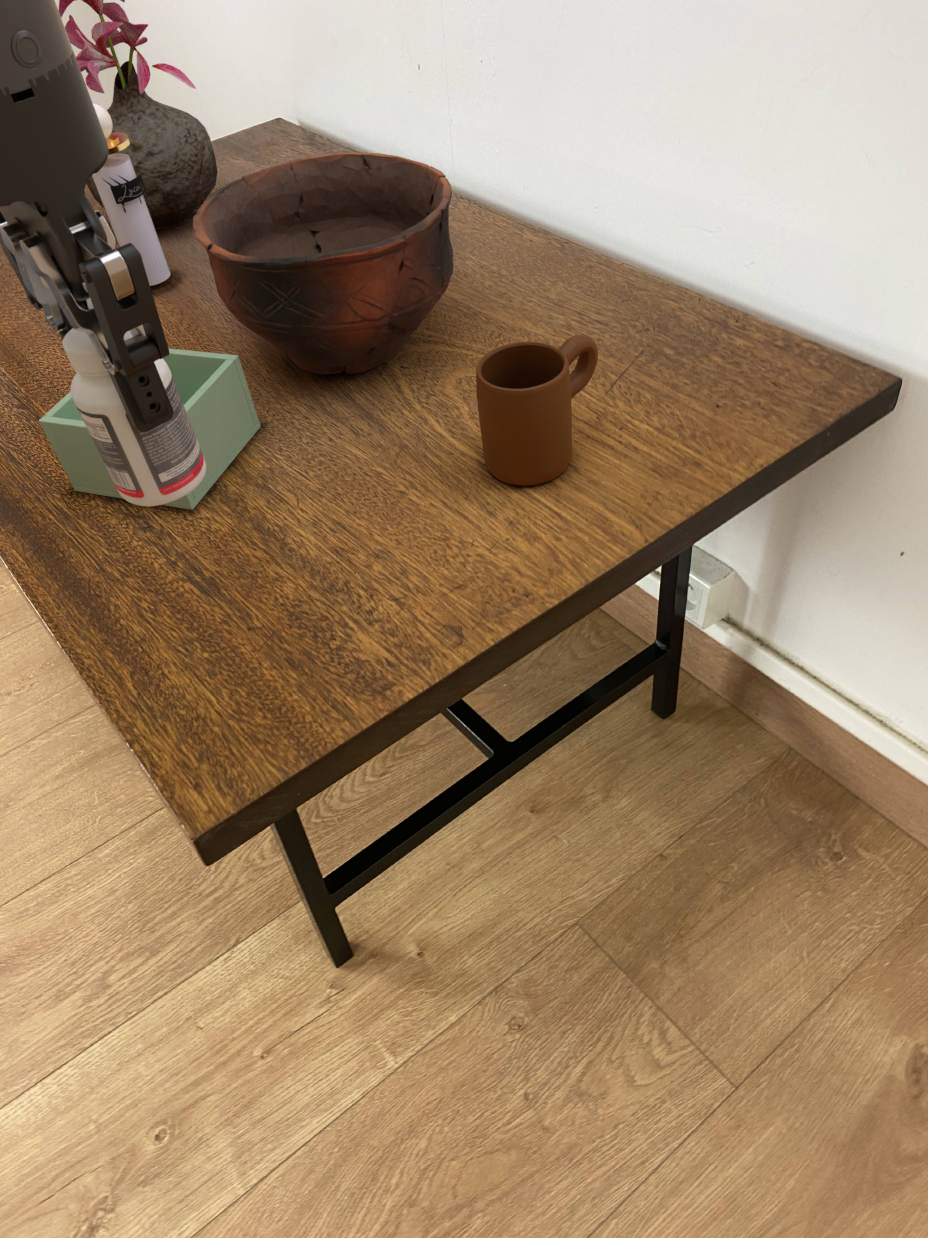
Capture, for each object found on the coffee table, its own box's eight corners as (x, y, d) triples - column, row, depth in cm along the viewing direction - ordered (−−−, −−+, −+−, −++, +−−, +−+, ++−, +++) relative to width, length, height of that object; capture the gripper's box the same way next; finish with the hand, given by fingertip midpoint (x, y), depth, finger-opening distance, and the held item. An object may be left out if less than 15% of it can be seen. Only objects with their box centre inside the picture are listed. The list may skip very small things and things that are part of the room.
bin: (192, 510, 78) (162, 437, 73) (74, 490, 82) (37, 420, 76) (261, 426, 86) (238, 354, 81) (150, 412, 90) (121, 343, 84)
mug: (564, 403, 83) (562, 308, 76) (626, 436, 79) (629, 338, 72) (466, 463, 79) (454, 368, 72) (526, 501, 74) (519, 403, 67)
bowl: (515, 310, 96) (505, 161, 85) (376, 436, 83) (343, 278, 72) (336, 270, 107) (306, 134, 96) (188, 375, 94) (134, 231, 83)
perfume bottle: (120, 288, 110) (49, 109, 95) (157, 268, 113) (93, 91, 98) (150, 298, 107) (81, 115, 93) (187, 277, 110) (125, 96, 95)
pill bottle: (208, 446, 56) (152, 298, 49) (209, 497, 53) (149, 346, 46) (121, 464, 56) (52, 318, 49) (116, 518, 52) (41, 368, 45)
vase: (84, 243, 121) (-29, -27, 99) (150, 189, 132) (63, -65, 110) (193, 247, 116) (100, -35, 94) (253, 190, 127) (182, -74, 105)
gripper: (-157, 61, 41) (17, 387, 53) (-47, 120, 33) (128, 489, 45) (1, 15, 44) (131, 334, 56) (137, 59, 36) (254, 421, 48)
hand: (129, 402), depth 50 cm, fingers closed on pill bottle, 5 cm apart
